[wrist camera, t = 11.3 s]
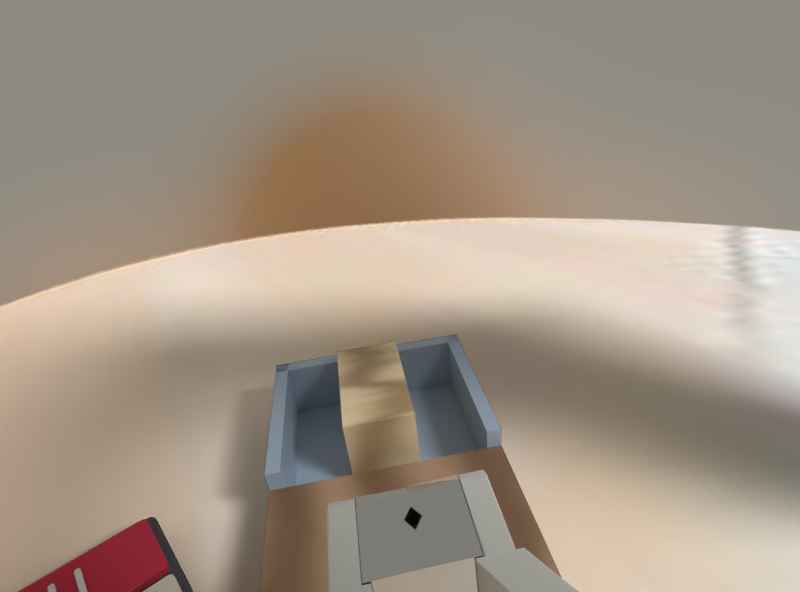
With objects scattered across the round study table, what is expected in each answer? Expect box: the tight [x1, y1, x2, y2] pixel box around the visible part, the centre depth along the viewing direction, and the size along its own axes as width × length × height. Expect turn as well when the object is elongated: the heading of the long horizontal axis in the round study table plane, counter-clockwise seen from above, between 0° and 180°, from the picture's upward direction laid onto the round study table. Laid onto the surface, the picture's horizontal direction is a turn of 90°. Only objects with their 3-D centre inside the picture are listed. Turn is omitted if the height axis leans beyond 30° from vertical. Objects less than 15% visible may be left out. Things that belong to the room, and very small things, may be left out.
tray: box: [264, 334, 501, 491], centre depth 39 cm, size 16×12×6 cm
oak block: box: [337, 342, 420, 474], centre depth 38 cm, size 5×6×9 cm
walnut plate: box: [260, 445, 561, 592], centre depth 30 cm, size 16×10×4 cm, turn 99°
